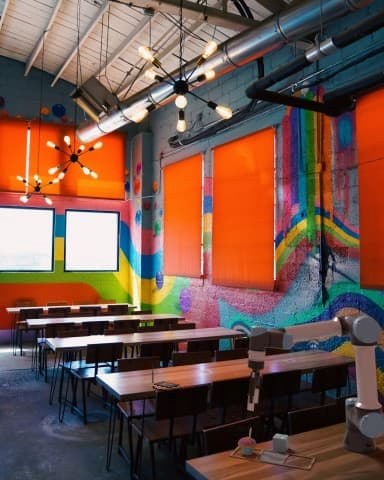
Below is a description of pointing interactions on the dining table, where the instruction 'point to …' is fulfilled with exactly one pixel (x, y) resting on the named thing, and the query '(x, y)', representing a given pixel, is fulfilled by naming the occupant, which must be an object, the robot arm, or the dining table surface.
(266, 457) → the board
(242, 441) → the cupcake
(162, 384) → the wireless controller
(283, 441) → the grey cube
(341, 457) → the dining table surface
